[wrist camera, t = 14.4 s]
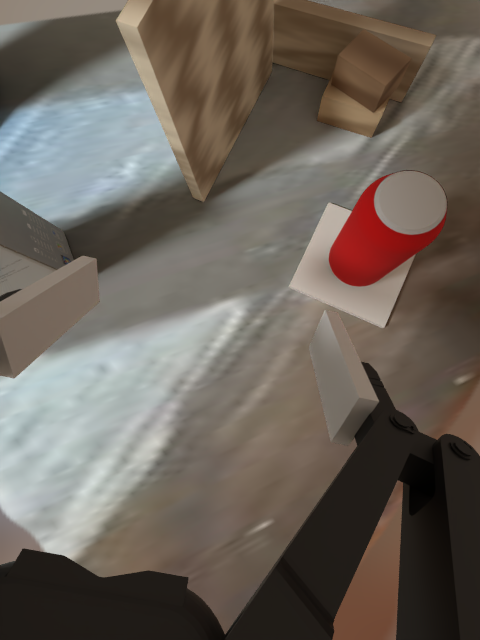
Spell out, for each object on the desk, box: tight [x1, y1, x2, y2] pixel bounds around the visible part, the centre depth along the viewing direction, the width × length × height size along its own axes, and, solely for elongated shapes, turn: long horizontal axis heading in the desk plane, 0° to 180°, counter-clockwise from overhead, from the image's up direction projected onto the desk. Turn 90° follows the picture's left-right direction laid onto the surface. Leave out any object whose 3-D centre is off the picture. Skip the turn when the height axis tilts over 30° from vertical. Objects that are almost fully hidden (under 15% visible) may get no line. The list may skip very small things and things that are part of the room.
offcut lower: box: [317, 69, 391, 138], centre depth 32 cm, size 5×7×4 cm
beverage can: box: [329, 170, 447, 287], centre depth 25 cm, size 6×6×12 cm
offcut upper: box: [331, 29, 412, 113], centre depth 29 cm, size 4×6×3 cm, turn 47°
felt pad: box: [289, 203, 416, 328], centre depth 31 cm, size 11×11×1 cm
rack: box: [116, 0, 436, 202], centre depth 25 cm, size 23×18×18 cm
